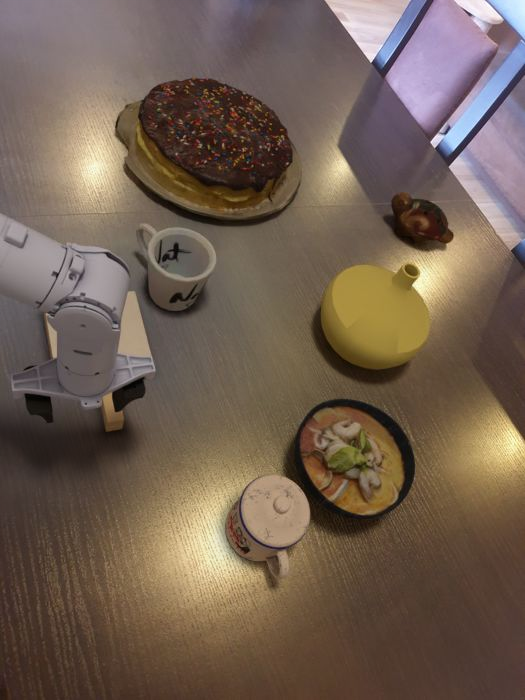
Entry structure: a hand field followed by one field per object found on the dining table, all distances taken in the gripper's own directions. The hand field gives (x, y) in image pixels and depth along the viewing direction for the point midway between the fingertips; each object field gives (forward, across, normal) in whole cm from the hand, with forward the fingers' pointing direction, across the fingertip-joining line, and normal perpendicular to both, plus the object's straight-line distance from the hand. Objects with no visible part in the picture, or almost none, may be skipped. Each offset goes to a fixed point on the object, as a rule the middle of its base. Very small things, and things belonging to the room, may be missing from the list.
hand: (83, 409), depth 67 cm
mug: (+11, +17, +25) cm, 32 cm away
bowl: (+11, +34, -12) cm, 38 cm away
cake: (+11, +34, +55) cm, 66 cm away
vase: (+11, +48, +10) cm, 50 cm away
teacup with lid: (+11, +20, -18) cm, 29 cm away
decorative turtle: (+11, +72, +33) cm, 80 cm away
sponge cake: (+10, +4, +15) cm, 19 cm away
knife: (+10, +5, +10) cm, 15 cm away
